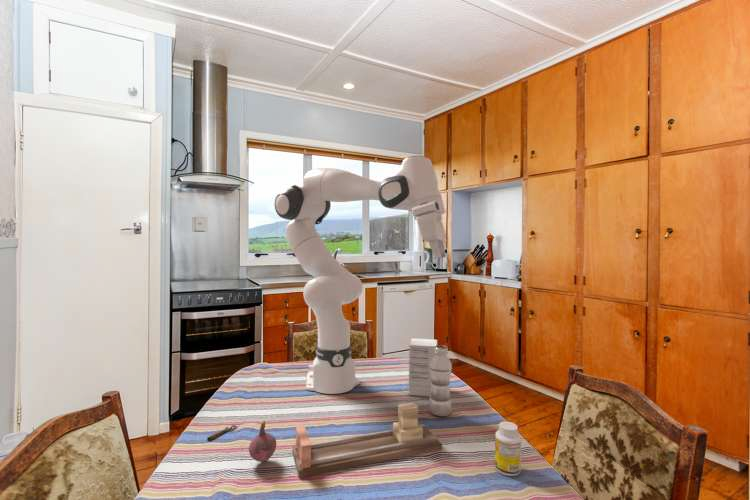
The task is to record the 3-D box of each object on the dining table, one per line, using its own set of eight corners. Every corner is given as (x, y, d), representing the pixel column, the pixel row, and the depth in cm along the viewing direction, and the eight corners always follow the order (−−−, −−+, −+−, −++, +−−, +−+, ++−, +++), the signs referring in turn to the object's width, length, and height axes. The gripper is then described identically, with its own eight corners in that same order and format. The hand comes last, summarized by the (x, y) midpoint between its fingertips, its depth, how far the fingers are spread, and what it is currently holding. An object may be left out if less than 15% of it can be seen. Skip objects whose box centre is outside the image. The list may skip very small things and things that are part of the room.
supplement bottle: (500, 459, 91) (501, 417, 90) (524, 469, 87) (525, 424, 87) (490, 470, 86) (491, 425, 86) (515, 480, 83) (516, 434, 82)
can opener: (209, 442, 97) (209, 437, 97) (204, 439, 98) (204, 435, 98) (240, 428, 104) (240, 424, 104) (235, 426, 106) (235, 421, 106)
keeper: (392, 434, 98) (393, 403, 98) (414, 430, 100) (414, 400, 100) (400, 444, 94) (401, 412, 93) (422, 440, 96) (423, 408, 95)
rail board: (292, 452, 92) (292, 426, 92) (423, 430, 104) (423, 406, 104) (298, 477, 83) (298, 448, 83) (441, 449, 95) (442, 423, 94)
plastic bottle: (451, 420, 110) (452, 351, 109) (427, 417, 111) (428, 349, 111) (451, 410, 116) (452, 345, 115) (429, 408, 118) (430, 343, 117)
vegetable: (250, 473, 84) (250, 429, 84) (247, 458, 90) (247, 416, 89) (278, 467, 86) (278, 424, 86) (274, 453, 92) (274, 412, 92)
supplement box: (436, 397, 125) (437, 346, 125) (408, 395, 127) (408, 344, 126) (436, 386, 135) (437, 339, 134) (410, 384, 136) (411, 337, 136)
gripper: (425, 217, 120) (435, 260, 118) (410, 209, 100) (422, 260, 99) (444, 211, 118) (455, 255, 117) (433, 202, 98) (446, 254, 97)
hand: (440, 257), depth 108 cm, fingers open, 8 cm apart
